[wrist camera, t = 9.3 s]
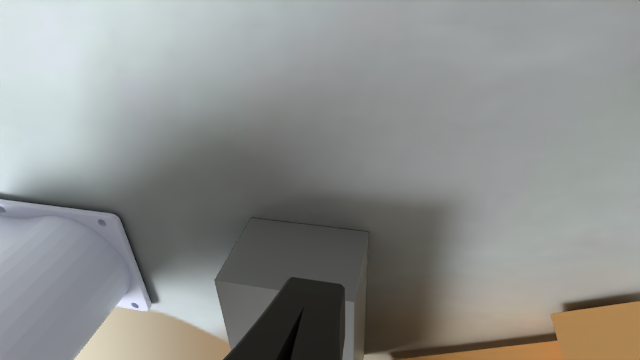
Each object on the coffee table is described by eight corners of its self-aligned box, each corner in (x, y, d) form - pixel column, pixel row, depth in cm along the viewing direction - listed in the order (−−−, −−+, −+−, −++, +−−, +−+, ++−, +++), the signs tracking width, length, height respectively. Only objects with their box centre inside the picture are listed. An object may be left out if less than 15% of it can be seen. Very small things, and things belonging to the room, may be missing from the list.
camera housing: (269, 338, 28) (237, 422, 23) (250, 217, 22) (204, 297, 18) (363, 355, 26) (349, 447, 22) (368, 231, 21) (350, 321, 17)
